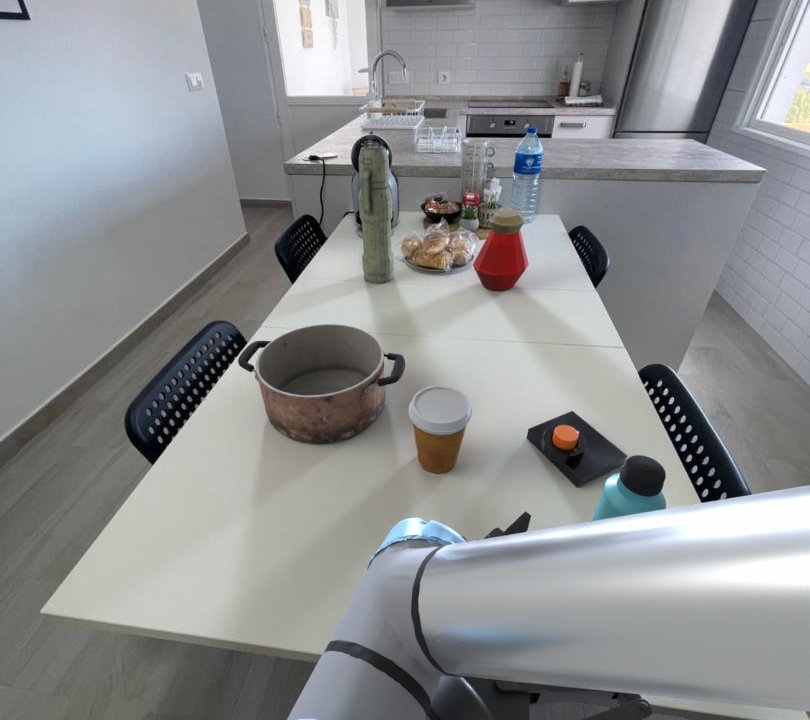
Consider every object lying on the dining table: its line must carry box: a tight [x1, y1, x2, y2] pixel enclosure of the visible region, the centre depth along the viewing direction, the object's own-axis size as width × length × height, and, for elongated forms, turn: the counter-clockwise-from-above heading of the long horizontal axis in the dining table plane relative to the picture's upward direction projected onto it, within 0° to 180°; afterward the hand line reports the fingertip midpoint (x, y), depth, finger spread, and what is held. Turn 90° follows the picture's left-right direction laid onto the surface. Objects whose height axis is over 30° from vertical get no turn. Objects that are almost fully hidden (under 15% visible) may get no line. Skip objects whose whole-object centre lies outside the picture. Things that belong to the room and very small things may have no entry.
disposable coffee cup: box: [407, 384, 473, 474], centre depth 70 cm, size 10×10×12 cm
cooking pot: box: [237, 323, 406, 444], centre depth 82 cm, size 30×22×11 cm
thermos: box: [358, 143, 395, 285], centre depth 120 cm, size 9×12×35 cm
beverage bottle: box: [591, 454, 667, 521], centre depth 52 cm, size 6×7×20 cm
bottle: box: [472, 209, 529, 292], centre depth 120 cm, size 16×14×20 cm
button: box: [552, 425, 578, 450], centre depth 71 cm, size 4×4×2 cm
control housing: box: [526, 410, 628, 489], centre depth 73 cm, size 12×11×4 cm
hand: (582, 563), depth 45 cm, fingers open, 13 cm apart
